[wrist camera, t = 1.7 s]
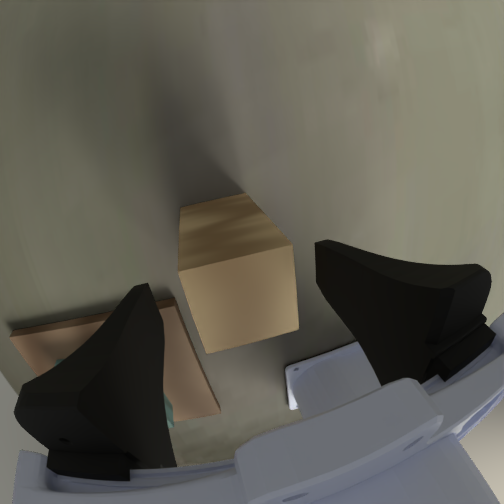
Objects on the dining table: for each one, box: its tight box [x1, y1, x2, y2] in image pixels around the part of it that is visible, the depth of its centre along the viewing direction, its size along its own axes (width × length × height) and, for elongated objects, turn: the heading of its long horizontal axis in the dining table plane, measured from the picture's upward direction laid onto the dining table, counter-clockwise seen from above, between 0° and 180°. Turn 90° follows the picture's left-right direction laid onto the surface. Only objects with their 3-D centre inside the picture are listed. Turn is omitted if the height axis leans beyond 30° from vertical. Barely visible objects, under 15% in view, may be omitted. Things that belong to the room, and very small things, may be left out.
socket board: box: [9, 298, 221, 428], centre depth 19 cm, size 16×14×4 cm
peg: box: [178, 193, 299, 354], centre depth 14 cm, size 4×4×8 cm
